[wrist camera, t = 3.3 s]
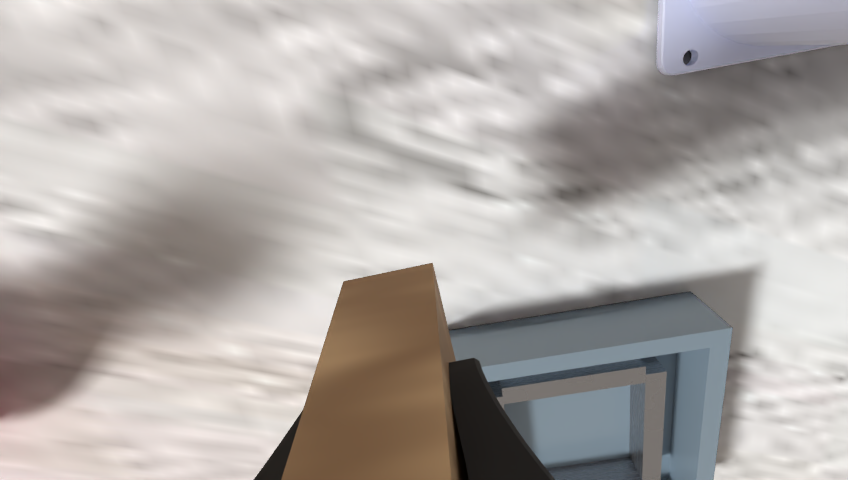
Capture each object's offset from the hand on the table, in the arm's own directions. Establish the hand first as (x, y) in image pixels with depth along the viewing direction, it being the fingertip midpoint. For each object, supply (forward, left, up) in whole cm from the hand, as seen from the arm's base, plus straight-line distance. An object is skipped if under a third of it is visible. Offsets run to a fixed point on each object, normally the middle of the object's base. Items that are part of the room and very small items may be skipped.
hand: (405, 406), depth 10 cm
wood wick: (0, 0, -2) cm, 3 cm away
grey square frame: (-6, +11, -9) cm, 15 cm away
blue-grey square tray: (-6, +11, -9) cm, 15 cm away
